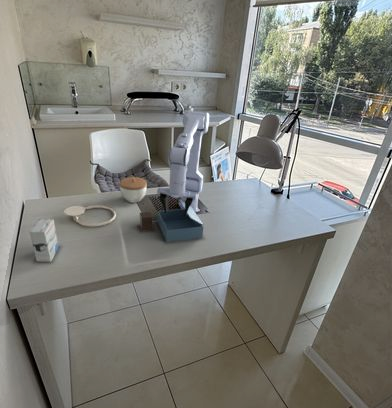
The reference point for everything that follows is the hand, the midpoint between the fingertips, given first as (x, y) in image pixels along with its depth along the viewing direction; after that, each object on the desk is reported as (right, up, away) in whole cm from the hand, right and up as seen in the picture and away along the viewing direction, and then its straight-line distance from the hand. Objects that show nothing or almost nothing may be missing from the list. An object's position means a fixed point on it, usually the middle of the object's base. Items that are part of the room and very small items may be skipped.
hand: (175, 213), depth 112 cm
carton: (+1, -7, +10) cm, 12 cm away
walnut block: (-13, -6, +9) cm, 17 cm away
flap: (+5, +1, +7) cm, 9 cm away
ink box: (-44, -15, -11) cm, 47 cm away
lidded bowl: (-23, +7, +30) cm, 38 cm away
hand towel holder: (-37, -2, +12) cm, 39 cm away
